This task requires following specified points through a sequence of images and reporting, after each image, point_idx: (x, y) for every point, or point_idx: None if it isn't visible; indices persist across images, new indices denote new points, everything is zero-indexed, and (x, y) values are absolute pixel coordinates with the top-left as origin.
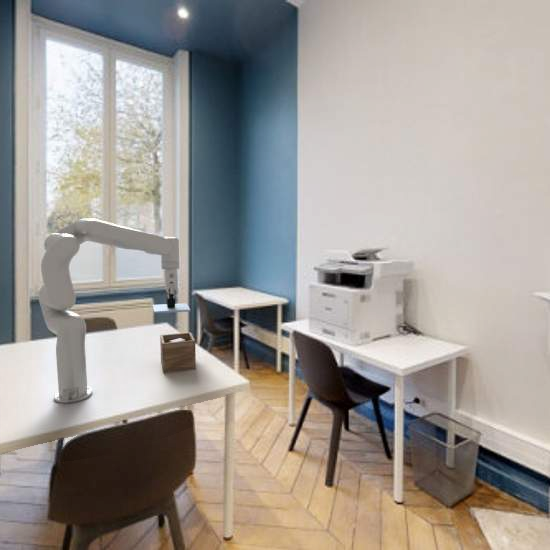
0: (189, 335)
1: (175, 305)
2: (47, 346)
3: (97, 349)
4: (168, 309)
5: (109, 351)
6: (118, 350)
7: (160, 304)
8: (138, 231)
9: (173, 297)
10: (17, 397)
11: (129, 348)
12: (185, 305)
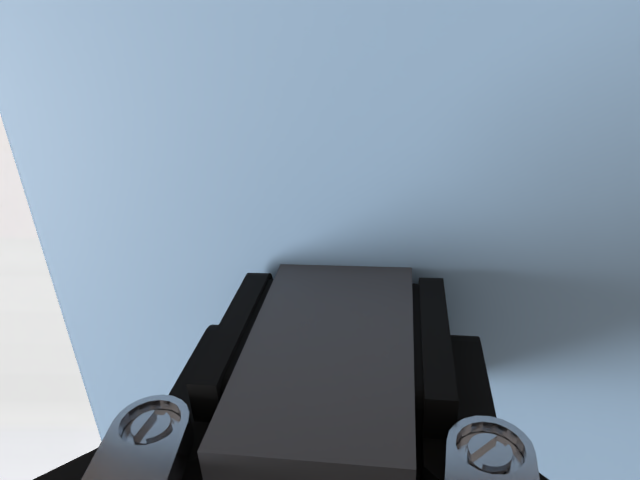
0: None
1: (200, 235)
2: None
3: (46, 424)
4: (548, 379)
5: (77, 384)
6: (63, 351)
7: (101, 427)
8: None
9: (531, 475)
10: None
11: (32, 306)
12: (221, 33)
